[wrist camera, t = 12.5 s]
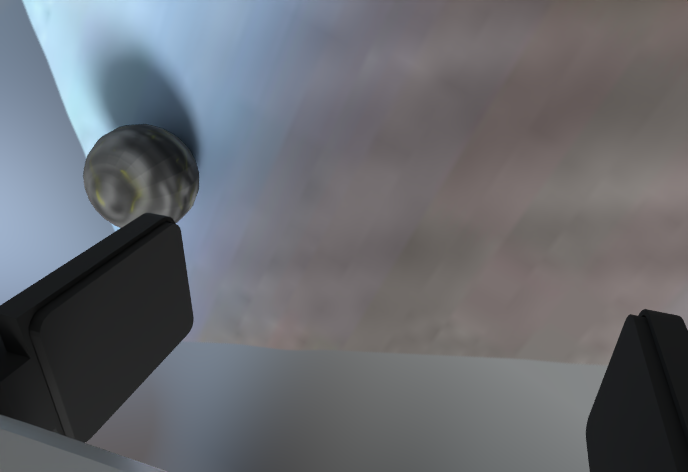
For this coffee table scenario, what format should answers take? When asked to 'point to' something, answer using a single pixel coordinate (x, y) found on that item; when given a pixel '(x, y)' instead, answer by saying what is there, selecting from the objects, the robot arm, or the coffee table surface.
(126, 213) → the decorative stone
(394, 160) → the coffee table surface
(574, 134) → the coffee table surface
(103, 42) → the coffee table surface
